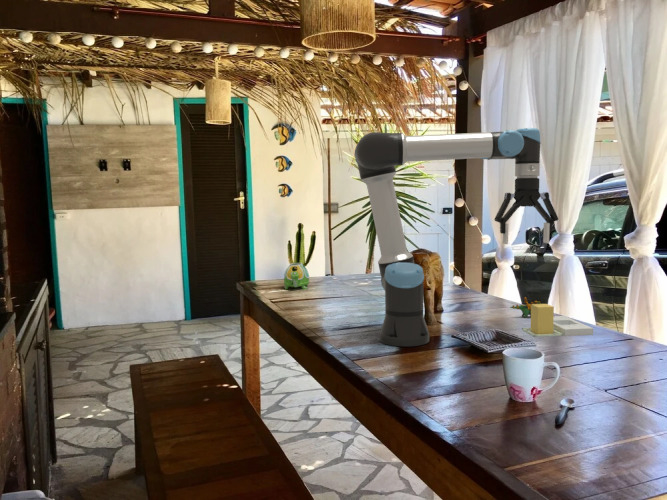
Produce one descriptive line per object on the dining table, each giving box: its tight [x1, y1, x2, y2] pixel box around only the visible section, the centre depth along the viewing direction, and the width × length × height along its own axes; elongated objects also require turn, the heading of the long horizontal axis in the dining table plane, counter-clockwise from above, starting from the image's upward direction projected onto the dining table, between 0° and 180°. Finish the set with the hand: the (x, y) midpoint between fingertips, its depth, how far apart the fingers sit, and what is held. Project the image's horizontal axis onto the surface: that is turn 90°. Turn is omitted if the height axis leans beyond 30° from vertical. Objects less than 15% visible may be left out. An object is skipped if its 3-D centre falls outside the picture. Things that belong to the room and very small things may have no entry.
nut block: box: [530, 303, 555, 335], centre depth 181 cm, size 5×5×9 cm
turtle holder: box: [283, 262, 310, 290], centre depth 278 cm, size 12×18×12 cm
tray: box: [521, 327, 564, 338], centre depth 182 cm, size 9×9×2 cm
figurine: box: [509, 296, 542, 319], centre depth 203 cm, size 3×12×8 cm, turn 96°
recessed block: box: [553, 315, 594, 337], centre depth 186 cm, size 9×18×3 cm, turn 5°
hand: (525, 243), depth 188 cm, fingers open, 13 cm apart
